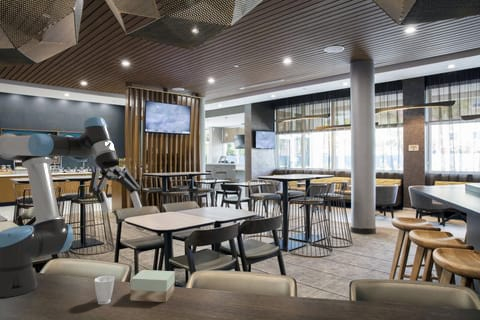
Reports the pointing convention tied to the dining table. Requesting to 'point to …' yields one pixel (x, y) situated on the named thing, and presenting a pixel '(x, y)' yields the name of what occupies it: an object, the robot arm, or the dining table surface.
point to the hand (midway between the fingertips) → (123, 210)
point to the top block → (153, 280)
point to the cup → (104, 288)
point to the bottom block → (151, 295)
